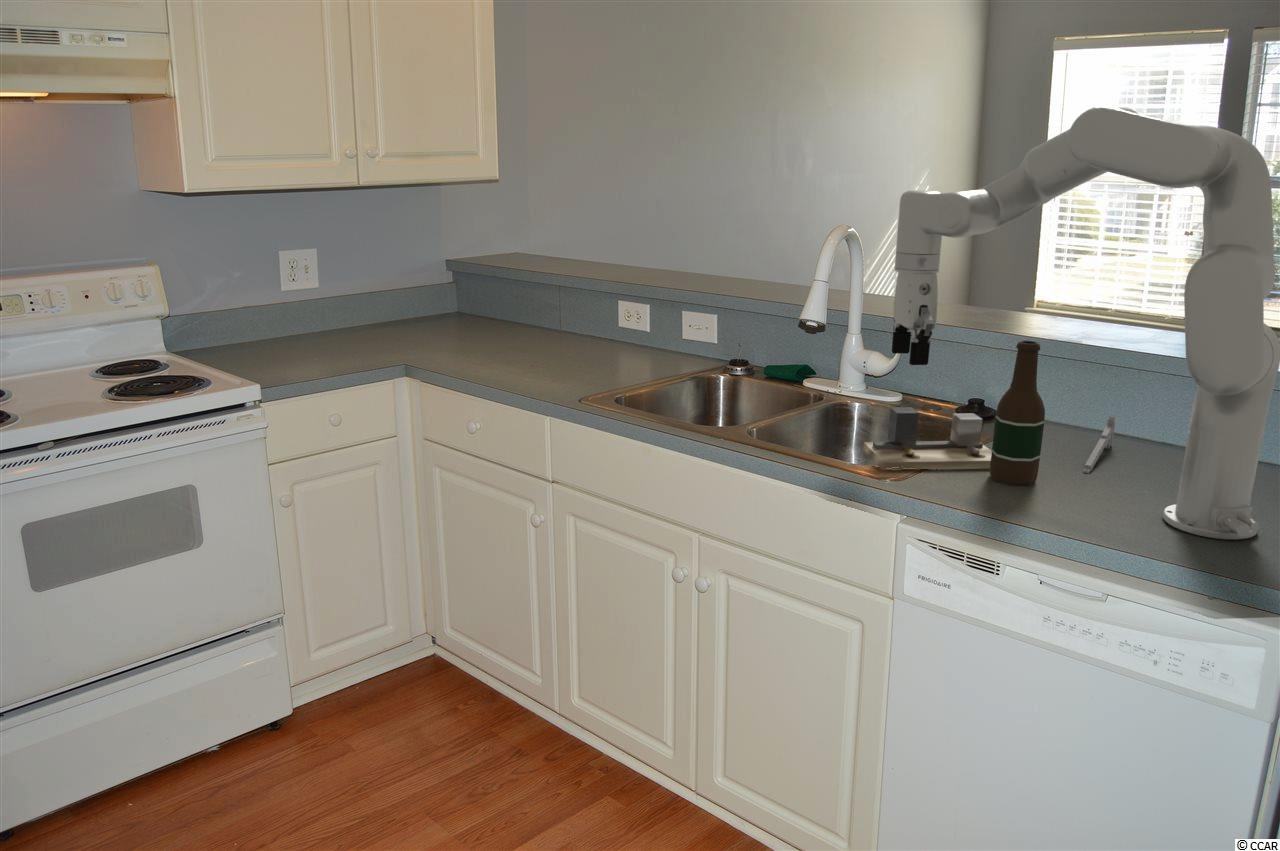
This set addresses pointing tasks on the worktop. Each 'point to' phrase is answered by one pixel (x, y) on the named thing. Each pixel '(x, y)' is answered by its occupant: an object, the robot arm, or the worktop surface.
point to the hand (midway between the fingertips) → (909, 358)
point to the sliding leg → (903, 427)
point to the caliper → (1101, 445)
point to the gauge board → (938, 449)
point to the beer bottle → (1019, 423)
